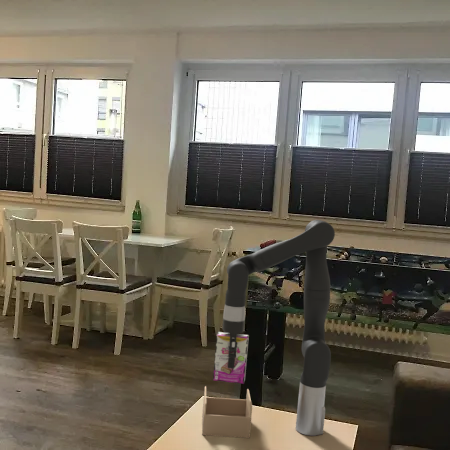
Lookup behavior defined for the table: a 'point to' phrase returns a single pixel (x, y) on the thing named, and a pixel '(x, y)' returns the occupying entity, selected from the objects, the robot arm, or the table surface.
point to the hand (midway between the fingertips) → (230, 365)
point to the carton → (226, 416)
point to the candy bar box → (222, 359)
